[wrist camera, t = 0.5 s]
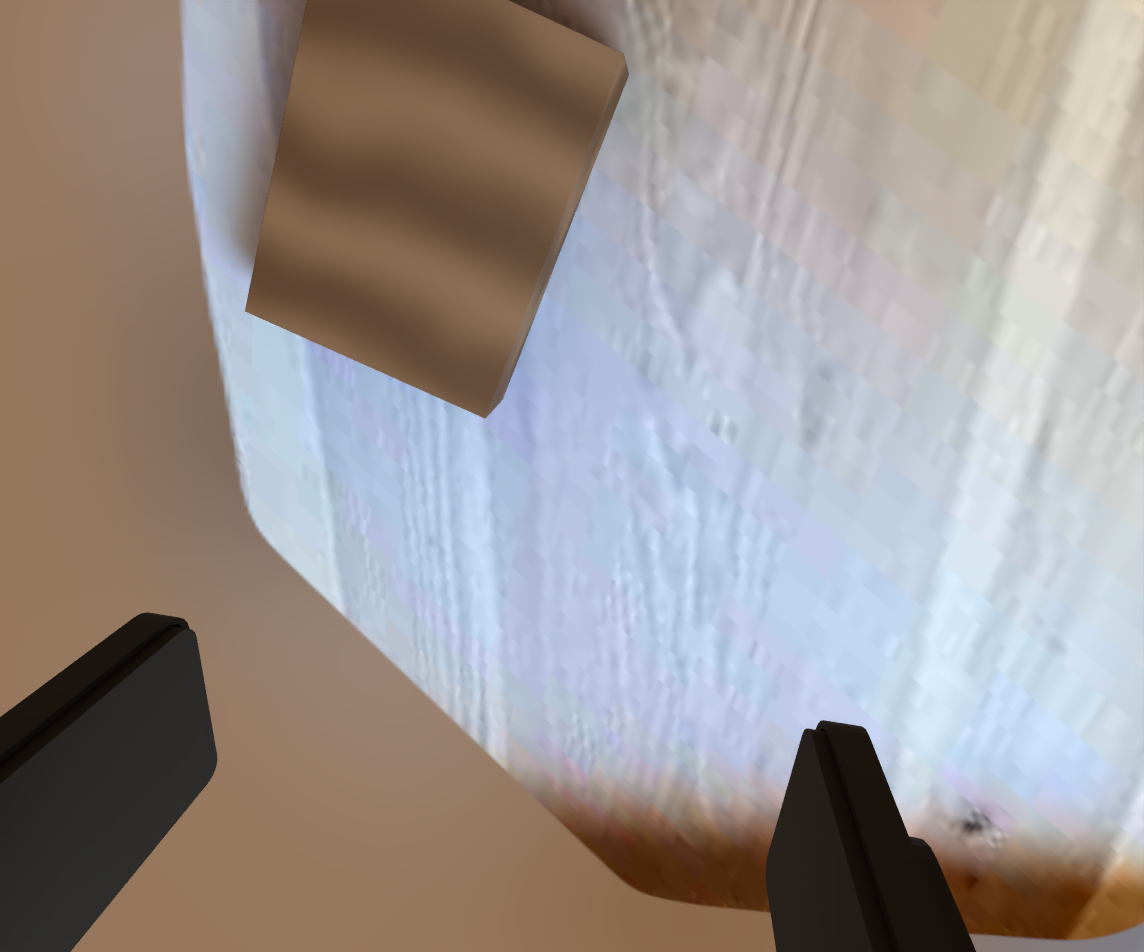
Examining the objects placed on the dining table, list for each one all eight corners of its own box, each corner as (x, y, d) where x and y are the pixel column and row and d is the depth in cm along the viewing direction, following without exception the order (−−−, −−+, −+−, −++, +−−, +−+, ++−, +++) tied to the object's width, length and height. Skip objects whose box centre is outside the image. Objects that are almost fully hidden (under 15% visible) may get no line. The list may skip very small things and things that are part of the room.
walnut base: (365, -49, 31) (324, -86, 27) (628, 74, 31) (624, 54, 27) (286, 302, 38) (244, 311, 34) (502, 399, 38) (485, 418, 34)
